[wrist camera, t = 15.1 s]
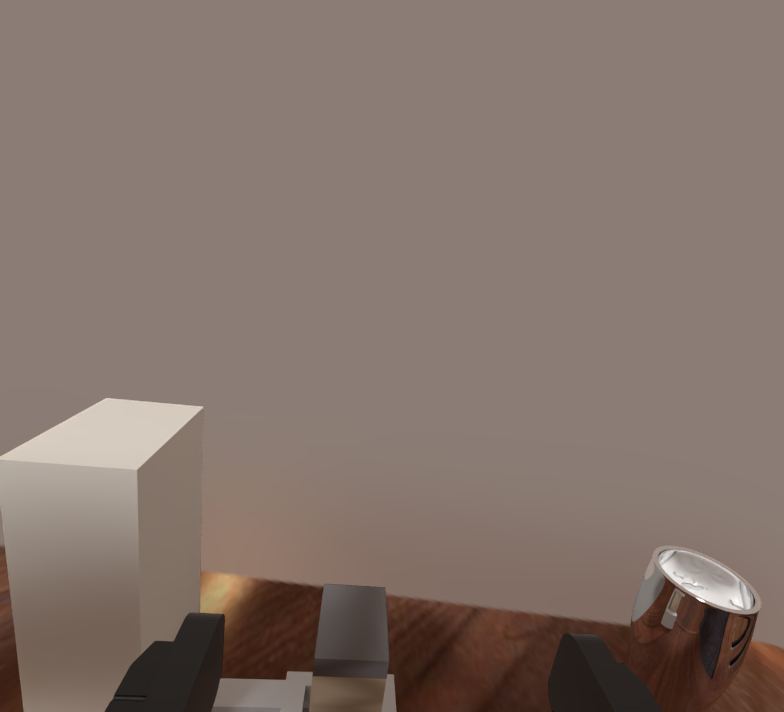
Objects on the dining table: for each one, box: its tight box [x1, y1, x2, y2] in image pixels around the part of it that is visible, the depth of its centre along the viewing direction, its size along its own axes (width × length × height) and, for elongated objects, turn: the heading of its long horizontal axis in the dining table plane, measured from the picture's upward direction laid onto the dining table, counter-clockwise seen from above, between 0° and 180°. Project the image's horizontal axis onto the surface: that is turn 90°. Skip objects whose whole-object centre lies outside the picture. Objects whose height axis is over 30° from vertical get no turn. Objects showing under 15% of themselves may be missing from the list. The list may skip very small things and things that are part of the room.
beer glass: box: [627, 546, 761, 712], centre depth 32 cm, size 7×7×15 cm
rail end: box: [309, 584, 389, 712], centre depth 25 cm, size 4×5×14 cm
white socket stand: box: [0, 398, 396, 712], centre depth 25 cm, size 21×10×24 cm, turn 94°
